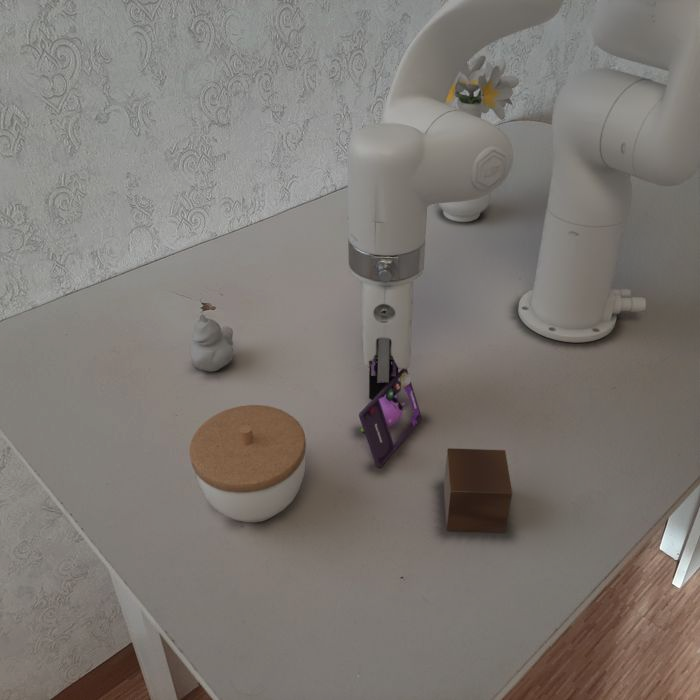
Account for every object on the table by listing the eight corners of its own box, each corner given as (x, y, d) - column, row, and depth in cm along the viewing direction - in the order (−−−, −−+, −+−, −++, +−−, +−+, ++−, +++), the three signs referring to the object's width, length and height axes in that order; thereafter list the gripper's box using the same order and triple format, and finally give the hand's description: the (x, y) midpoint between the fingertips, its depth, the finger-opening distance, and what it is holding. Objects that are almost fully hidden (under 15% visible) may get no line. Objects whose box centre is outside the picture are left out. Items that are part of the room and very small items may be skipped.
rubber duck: (180, 369, 88) (170, 315, 83) (217, 342, 92) (209, 290, 87) (213, 384, 85) (204, 330, 80) (249, 356, 90) (242, 303, 85)
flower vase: (511, 196, 126) (530, 47, 111) (483, 243, 112) (501, 80, 97) (440, 185, 130) (449, 39, 115) (405, 229, 117) (411, 70, 102)
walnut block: (498, 489, 72) (505, 449, 68) (505, 533, 67) (512, 493, 64) (443, 487, 72) (447, 447, 69) (446, 531, 67) (450, 491, 64)
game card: (367, 415, 71) (412, 367, 77) (327, 410, 74) (373, 365, 80) (385, 469, 73) (427, 419, 79) (346, 462, 77) (389, 415, 83)
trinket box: (205, 463, 75) (192, 395, 69) (307, 456, 76) (302, 387, 70) (196, 546, 66) (180, 476, 61) (311, 537, 67) (306, 467, 61)
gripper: (426, 295, 65) (417, 442, 75) (423, 220, 76) (415, 357, 87) (343, 293, 65) (346, 440, 76) (353, 219, 77) (354, 355, 88)
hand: (383, 395), depth 82 cm, fingers closed
